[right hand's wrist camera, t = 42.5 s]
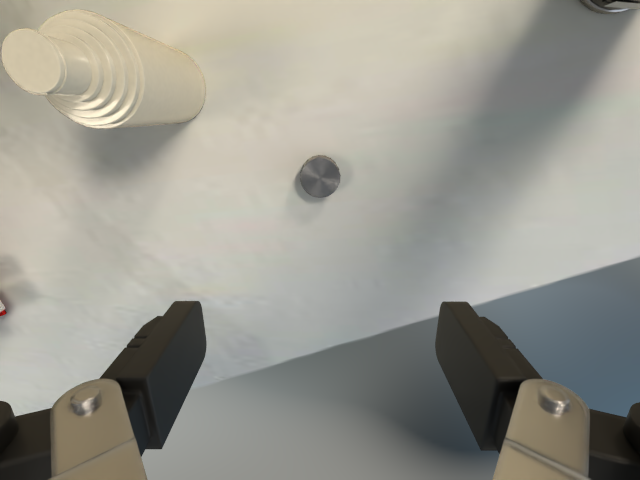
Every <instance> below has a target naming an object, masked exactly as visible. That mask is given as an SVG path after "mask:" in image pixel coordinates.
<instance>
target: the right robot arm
mask: <svg viewBox="0 0 640 480" xmlns="http://www.w3.org/2000/svg"><path fill="white" fill-rule="evenodd" d="M580 1H581V2H582V3H583V4H584V5H585V6H586V7H588V8H589V9H591V10H592V11H595V12H598V13H603V14H613V13H619V12H622V11H625V10H628V9H639V8H640V0H580ZM435 348H436V355H437V359H438V361H439V363H440V365H441V368H442V370H443V372H444V374H445V376H446V378H447V380H448V382H449V384H450V386H451V389H452V391H453V393H454V395H455V397H456V399H457V401H458V403H459V405H460V407H461V410H462V412H463V414H464V416H465V418H466V420H467V422H468V424H469V426H470V428H471V431H472V433H473V435H474V437H475V439H476V441H477V443H478V445H479V447H480V449H481V450H498V452H499V454H500V456H499V459H498V463H497V466H496V470H495V473H494V476H493V480H640V403H636V404H634V405H632V406H631V408H630V410H629V413H628V415H627V418H626V417H622V416H617V415H613V414H609V413H605V412H600V411H596V410H592V409H588V407H587V405H586V404H585V402H584V401H583V400H582V399H581V398H580V397H579V396H578V395H577V394H575V393H574V392H573V391H571V390H569V389H568V388H566V387H564V386H562V385H560V384H558V383H555V382H552V381H549V380H544V379H543V378H542V377H541V376H540V375H539V374H538V372H537V371H536V370H535V369H534V368H533V367H532V365H531V364H530V363H529V362H528V361H527V359H526V358H525V357H524V356H523V355H522V353H521V352H520V351H519V350H518V349H516V347H515V345H514V344H513V343H512V341H511V340H510V339H508V337H507V336H506V334H505V333H504V332H503V331H502V330H501V328H500V327H499V326H498V325H496V324H495V323H493V322H492V321H490V320H488V319H487V318H485V317H479V316H478V315H477V314H476V312H475V311H474V310H473V308H472V307H471V306H470V305H469V303H468V302H442V304H441V307H440V312H439V320H438V327H437V334H436V342H435ZM205 353H206V335H205V328H204V320H203V313H202V307H201V304H200V302H199V301H175V302H174V303H173V304H172V305H171V307H170V308H169V309H168V310H167V312H166V313H165V314H164V316H157V317H156V318H154V319H153V320H151V321H150V322H148V323H147V324H145V325H143V327H142V328H141V329H140V330H139V331H138V333H137V334H136V335H135V336H134V339H132V340H131V341H130V342H129V344H128V345H127V348H124V350H123V351H122V352H121V353H120V354H119V356H118V357H117V358H116V359H115V360H114V362H113V363H112V364H111V365H110V366H109V368H108V369H107V370H106V371H105V372H104V374H103V375H102V376H101V377H100V378H99V379H96V380H91V381H88V382H85V383H82V384H80V385H78V386H76V387H74V388H72V389H71V390H69V391H67V392H66V393H65V394H63V395H62V396H61V397H60V398H59V399H58V400H57V401H56V402H55V404H54V405H53V407H52V408H50V409H46V410H41V411H37V412H33V413H29V414H24V415H20V416H16V417H15V416H14V413H13V411H12V408H11V406H10V405H9V404H8V403H6V402H3V401H0V480H147V476H146V473H145V469H144V466H143V463H142V459H141V456H142V454H143V452H144V450H145V449H162V447H163V445H164V443H165V441H166V439H167V436H168V434H169V432H170V430H171V428H172V426H173V424H174V422H175V419H176V417H177V415H178V413H179V411H180V409H181V407H182V405H183V403H184V400H185V398H186V396H187V394H188V392H189V390H190V388H191V386H192V384H193V381H194V379H195V377H196V375H197V373H198V371H199V369H200V367H201V364H202V362H203V360H204V357H205Z"/></svg>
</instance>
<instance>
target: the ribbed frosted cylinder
mask: <svg viewBox="0 0 640 480" xmlns="http://www.w3.org/2000/svg"><path fill="white" fill-rule="evenodd" d="M1 58H2V62H3V65H4V68H5V70H6V72H7V73H8V75H9V76H10V78H11V79H12V80H13V81H14V82H15V83H16V85H18V86H19V87H20V88H22V89H23V90H25V91H27V92H29V93H31V94H35V95H43V96H45V97H46V98H47V100H48V101H49V102H50V103H51V104H52V105H53V106H54V107H55V108H56V109H57V110H58V111H59V112H61V113H62V114H64V115H65V116H66V117H68V118H69V119H71V120H72V121H74V122H76V123H78V124H81V125H83V126H86V127H90V128H95V129H112V128H125V127H139V126H152V125H166V124H179V123H184V122H187V121H189V120H191V119H192V118H194V117H195V116H196V115H197V114H198V113H199V112H200V110H201V108H202V106H203V104H204V101H205V96H206V87H205V81H204V77H203V75H202V72H201V70H200V69H199V67H198V65H197V64H196V63H195V62H194V60H193V59H192V58H191V57H189V56H188V55H187V54H185V53H184V52H182V51H180V50H178V49H175V48H173V47H171V46H169V45H166V44H164V43H162V42H160V41H157V40H155V39H153V38H151V37H148V36H146V35H144V34H142V33H140V32H137V31H135V30H133V29H131V28H128V27H126V26H124V25H122V24H119V23H117V22H115V21H113V20H110V19H108V18H106V17H104V16H101V15H99V14H97V13H94V12H91V11H86V10H68V11H64V12H61V13H58V14H57V15H54V16H52V17H50V18H49V19H48V20H46V21H45V22H44V23H43V24H42V25H41V26H40V28H39V29H38V30H34V29H29V28H24V29H18V30H15V31H13V32H11V33H9V34H8V35H7V36H6V37H5V39H4V41H3V43H2V47H1Z"/></svg>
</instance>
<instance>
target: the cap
mask: <svg viewBox="0 0 640 480" xmlns="http://www.w3.org/2000/svg"><path fill="white" fill-rule="evenodd" d="M300 179H301V184H302V186H303V188H304V190H305V191H306V192H307V193H308V194H310V195H312V196H314V197H326V196H329V195H331V194H332V193H333V192H334V191H335V190H336V189H337V187H338V185H339V182H340V173H339V168H338V167H337V165H336V163H335V162H334V161H333V160H332V159H331V158H329V157H326V156H321V155H318V156H314V157H312V158H310V159H309V160H307V161H306V163H305V164H304V165H303V168H302V170H301V178H300Z"/></svg>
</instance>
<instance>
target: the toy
mask: <svg viewBox="0 0 640 480" xmlns="http://www.w3.org/2000/svg"><path fill="white" fill-rule="evenodd" d="M4 309H6V308H5V306H4V305H3V304H2V302H1V301H0V316H2V315H5V314H6V311H5V310H4Z"/></svg>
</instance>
